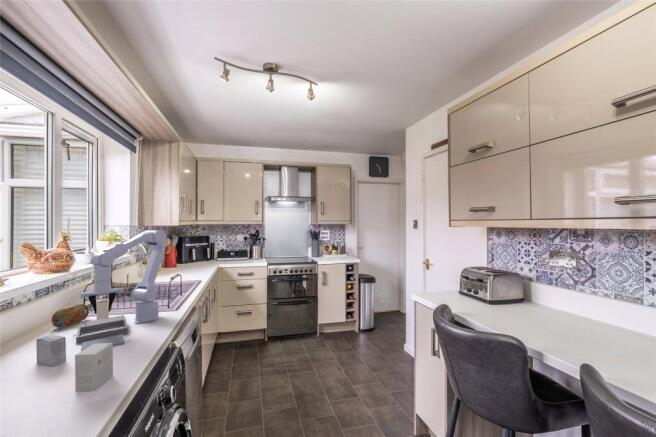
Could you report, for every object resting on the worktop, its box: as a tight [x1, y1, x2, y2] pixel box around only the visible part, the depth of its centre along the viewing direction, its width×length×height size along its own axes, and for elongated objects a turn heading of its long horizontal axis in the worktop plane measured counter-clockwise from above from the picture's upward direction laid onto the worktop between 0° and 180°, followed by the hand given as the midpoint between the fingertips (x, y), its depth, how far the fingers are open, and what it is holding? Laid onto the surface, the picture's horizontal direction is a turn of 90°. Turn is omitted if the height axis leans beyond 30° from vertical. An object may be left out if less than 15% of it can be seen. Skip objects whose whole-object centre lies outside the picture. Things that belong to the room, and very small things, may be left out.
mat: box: [80, 334, 125, 352], centre depth 115 cm, size 13×11×1 cm
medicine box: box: [35, 334, 67, 368], centre depth 100 cm, size 8×4×9 cm, turn 71°
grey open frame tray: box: [75, 314, 129, 345], centre depth 131 cm, size 17×27×3 cm, turn 38°
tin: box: [51, 303, 90, 329], centre depth 137 cm, size 15×3×8 cm, turn 168°
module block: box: [96, 298, 110, 320], centre depth 125 cm, size 4×6×7 cm, turn 38°
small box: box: [74, 343, 114, 393], centre depth 87 cm, size 8×6×10 cm
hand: (102, 312), depth 125 cm, fingers closed on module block, 4 cm apart
